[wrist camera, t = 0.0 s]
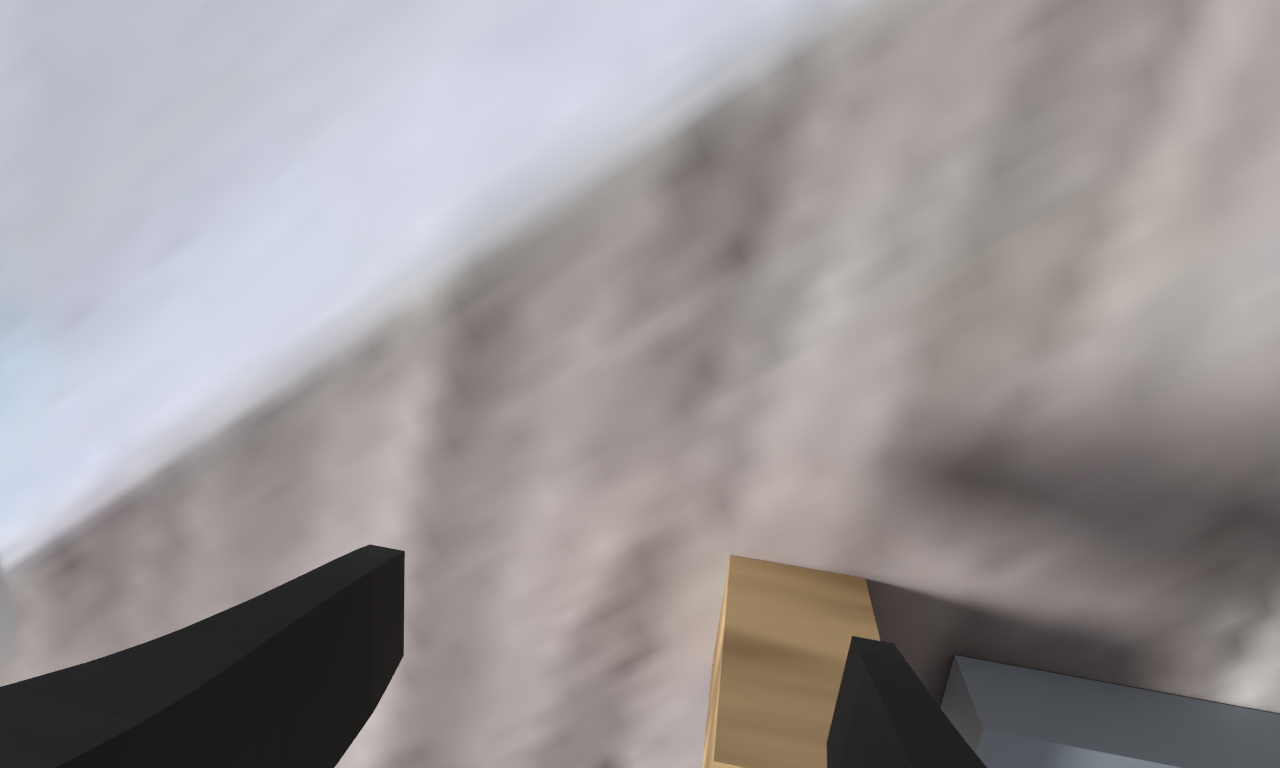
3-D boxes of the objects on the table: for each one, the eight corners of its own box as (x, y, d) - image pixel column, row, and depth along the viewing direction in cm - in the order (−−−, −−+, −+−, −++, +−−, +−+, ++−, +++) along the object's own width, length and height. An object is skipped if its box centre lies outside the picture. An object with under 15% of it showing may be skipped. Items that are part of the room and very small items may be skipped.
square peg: (839, 689, 23) (878, 950, 15) (712, 664, 23) (688, 907, 16) (865, 578, 22) (920, 803, 14) (729, 555, 22) (713, 761, 15)
